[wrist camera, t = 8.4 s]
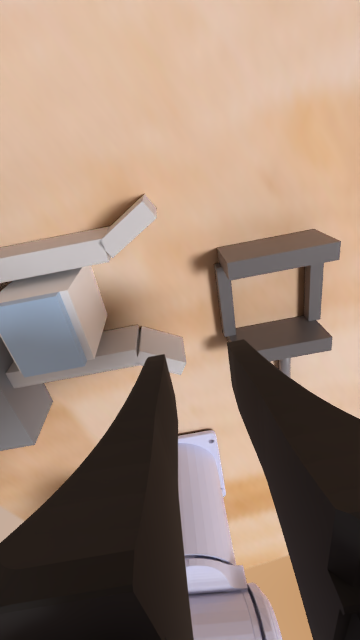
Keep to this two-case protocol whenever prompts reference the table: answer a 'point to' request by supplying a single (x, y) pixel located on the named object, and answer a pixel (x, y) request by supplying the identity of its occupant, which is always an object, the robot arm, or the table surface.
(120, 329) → the grey forked block
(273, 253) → the gray vise
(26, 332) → the plug
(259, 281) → the table surface
